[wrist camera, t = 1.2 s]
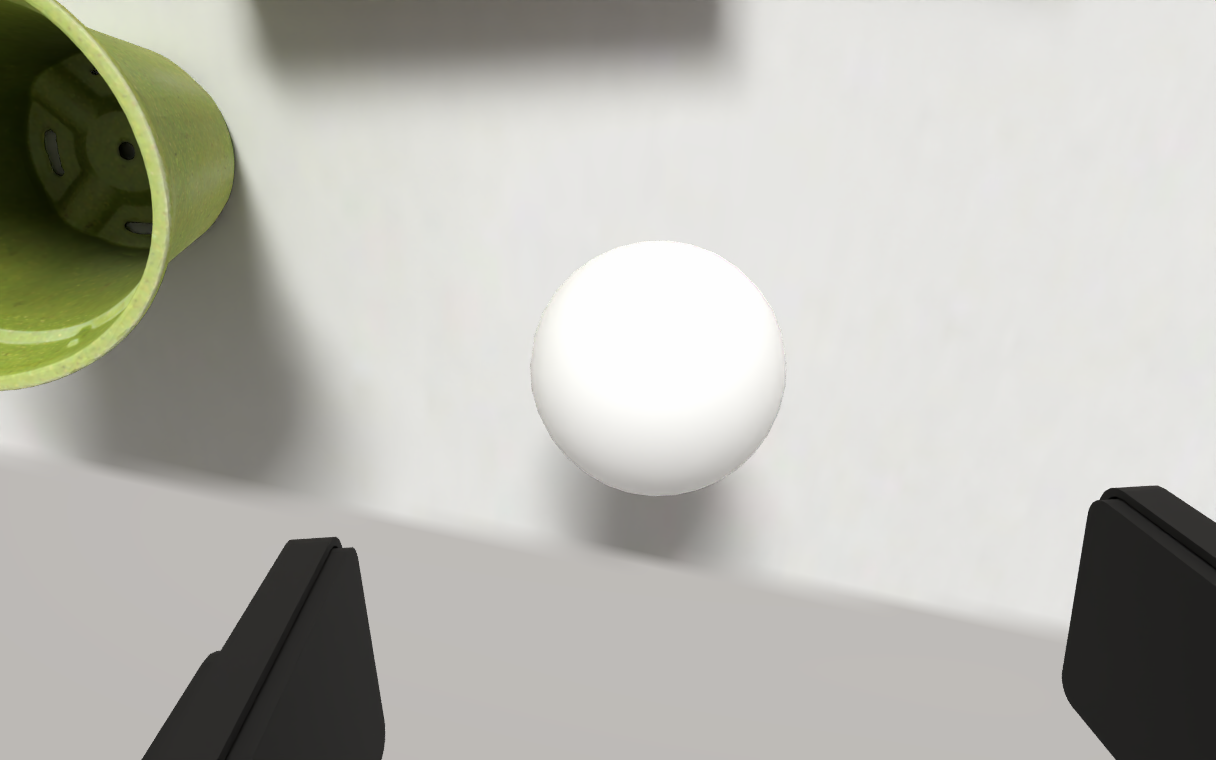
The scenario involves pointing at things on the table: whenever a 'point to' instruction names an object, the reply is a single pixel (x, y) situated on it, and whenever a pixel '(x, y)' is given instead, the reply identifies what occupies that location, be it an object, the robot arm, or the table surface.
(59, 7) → the plant pot
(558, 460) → the table surface
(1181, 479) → the table surface
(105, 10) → the table surface
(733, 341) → the lightbulb
